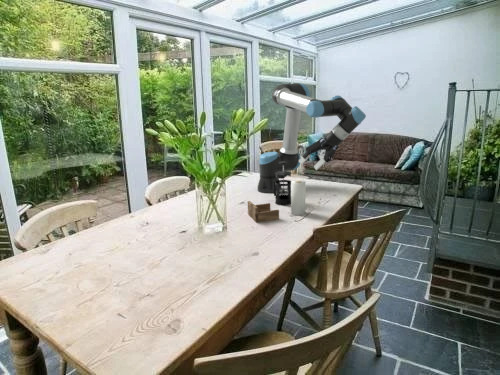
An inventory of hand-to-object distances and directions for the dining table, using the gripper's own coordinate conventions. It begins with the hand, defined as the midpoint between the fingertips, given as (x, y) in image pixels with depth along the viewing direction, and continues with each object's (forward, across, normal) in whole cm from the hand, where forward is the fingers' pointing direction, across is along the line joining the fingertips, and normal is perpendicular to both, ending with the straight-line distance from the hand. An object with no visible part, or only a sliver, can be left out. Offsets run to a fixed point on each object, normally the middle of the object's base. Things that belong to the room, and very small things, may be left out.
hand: (307, 165), depth 173 cm
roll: (+18, -2, -17) cm, 25 cm away
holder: (+28, -17, -13) cm, 35 cm away
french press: (+26, +5, -2) cm, 27 cm away
